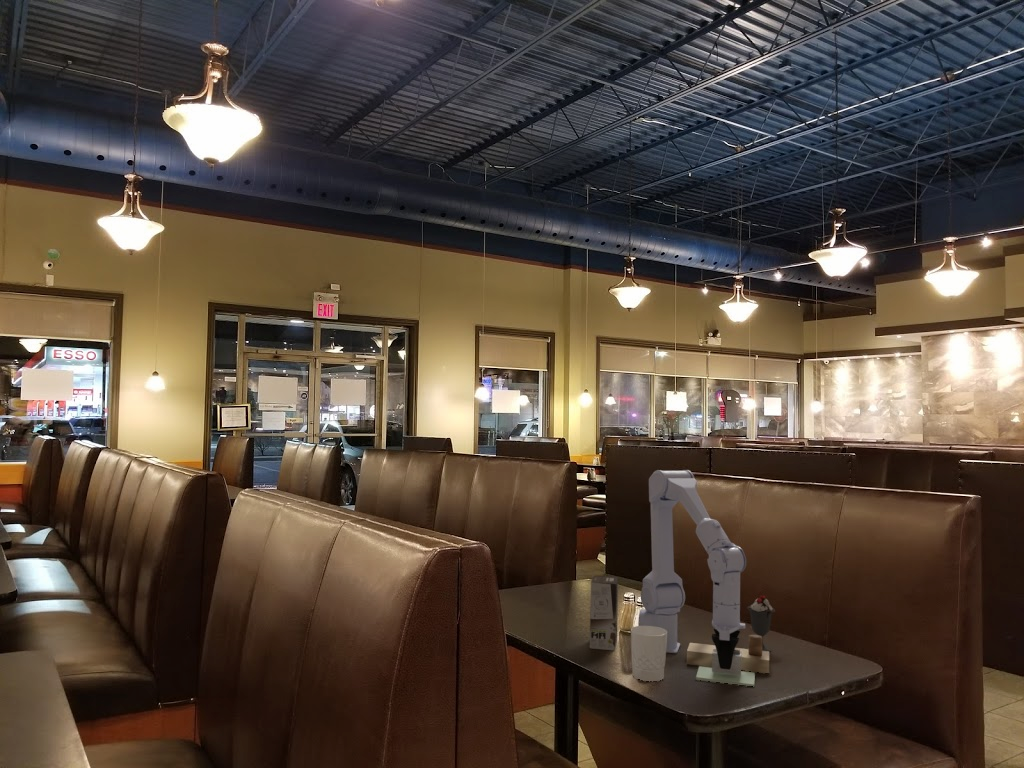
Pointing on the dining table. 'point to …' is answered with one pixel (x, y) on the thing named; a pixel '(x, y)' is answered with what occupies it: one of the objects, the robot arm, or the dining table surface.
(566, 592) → the dining table surface
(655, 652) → the white cup
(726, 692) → the dining table surface
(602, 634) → the coffee box
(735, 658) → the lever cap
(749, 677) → the board
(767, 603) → the sundae
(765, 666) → the panel with round knob
